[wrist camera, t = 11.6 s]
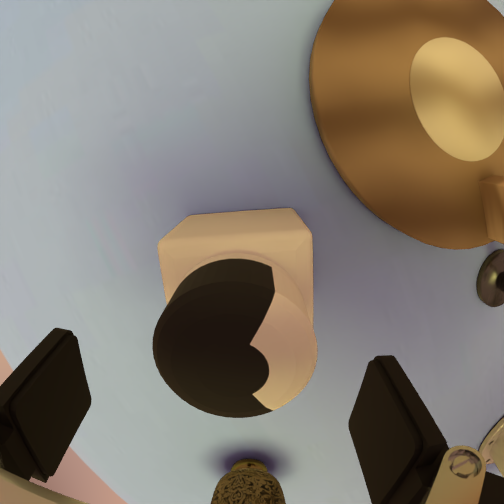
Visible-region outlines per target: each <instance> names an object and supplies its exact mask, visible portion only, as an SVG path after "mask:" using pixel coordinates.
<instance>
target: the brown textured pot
mask: <svg viewBox="0 0 504 504" xmlns="http://www.w3.org/2000/svg"><path fill="white" fill-rule="evenodd" d="M211 504H286V503H285V498H284V494H283V491H282V488H281V486H280V484H279V482H278V481H277V479H276V478H275V477H274V476H273V475H271V474H270V473H268V471H267V468H266V466H265V465H264V464H263V463H262V462H261V461H259V460H255V459H242V460H239V461H237V462H236V463H235V464H234V465H233V466H232V468H231V472H229V473H227V474H226V475H224V476H223V477H222V478H221V479H220V481H219V482H218V484H217V486H216V488H215V491H214V494H213V497H212V501H211Z"/></svg>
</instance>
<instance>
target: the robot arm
mask: <svg viewBox="0 0 504 504" xmlns="http://www.w3.org/2000/svg"><path fill="white" fill-rule="evenodd" d="M90 405H91V395H90V391H89V387H88V383H87V380H86V375H85V371H84V367H83V363H82V358H81V354H80V349H79V344H78V340H77V337H76V336H74V335H73V333H72V331H70V330H65V329H60V328H55V329H53V330H52V331H51V332H50V333H49V334H48V335H47V336H46V337H45V338H44V339H43V340H42V341H41V342H40V344H39V345H38V346H37V347H36V348H35V349H34V350H33V351H32V352H31V353H30V354H29V355H28V356H27V357H26V358H25V359H24V360H23V362H22V363H21V364H20V365H19V366H18V367H17V368H16V369H15V370H14V371H13V373H12V374H11V375H10V376H9V377H8V378H7V379H6V380H5V381H4V383H3V384H2V385H1V386H0V504H88V503H85V502H82V501H79V500H76V499H73V498H70V497H68V496H65V495H62V494H60V493H57V492H54V491H52V490H49V489H47V488H44V487H42V486H39V485H37V484H34V483H32V482H30V481H29V480H30V478H31V476H32V477H33V478H35V479H38V480H40V481H42V482H45V483H46V482H47V480H48V478H49V476H53V475H54V473H55V472H56V470H57V468H58V466H59V464H60V462H61V460H62V458H63V456H64V454H65V452H66V450H67V449H68V447H69V445H70V443H71V441H72V439H73V437H74V435H75V433H76V432H77V430H78V428H79V426H80V424H81V422H82V420H83V419H84V417H85V415H86V413H87V411H88V410H89V408H90ZM349 431H350V434H351V437H352V440H353V443H354V446H355V449H356V453H357V456H358V459H359V462H360V466H361V469H362V472H363V475H364V479H365V482H366V485H367V489H368V492H369V495H370V499H371V502H372V504H504V478H503V477H504V417H503V418H502V419H501V420H500V421H499V422H498V423H497V424H496V426H495V427H494V428H493V429H492V430H491V431H490V433H489V434H488V435H487V437H486V438H485V440H484V441H483V443H482V445H481V447H480V449H479V452H478V451H477V450H476V449H473V448H471V447H469V446H463V445H462V446H455V447H452V448H450V449H449V447H448V446H447V444H446V443H447V442H446V440H445V438H444V437H443V435H442V433H441V431H440V430H439V428H438V426H437V425H436V423H435V421H434V419H433V418H432V416H431V414H430V413H429V411H428V409H427V408H426V406H425V404H424V403H423V401H422V400H421V398H420V396H419V395H418V393H417V391H416V390H415V388H414V387H413V385H412V383H411V382H410V380H409V379H408V377H407V375H406V374H405V372H404V371H403V369H402V368H401V366H400V364H399V363H398V361H397V360H396V358H395V357H394V356H392V355H388V356H376V357H375V358H374V360H371V361H370V362H369V363H368V366H367V369H366V373H365V376H364V379H363V382H362V385H361V388H360V391H359V394H358V397H357V399H356V402H355V405H354V408H353V411H352V413H351V416H350V419H349ZM491 463H495V464H496V466H497V468H498V469H499V471H500V472H501V474H502V476H503V477H501V476H498V475H495V474H492V473H489V472H487V471H486V464H491Z"/></svg>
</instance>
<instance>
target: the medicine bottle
mask: <svg viewBox="0 0 504 504" xmlns="http://www.w3.org/2000/svg"><path fill="white" fill-rule="evenodd" d="M158 255H159V261H160V267H161V273H162V279H163V285H164V291H165V297H166V302H167V306H166V308H165V310H164V311H163V313H162V315H161V317H160V318H159V320H158V322H157V325H156V328H155V331H154V336H153V355H154V360H155V363H156V366H157V368H158V370H159V372H160V375H161V376H162V378H163V379H164V381H165V382H166V384H167V385H168V386H169V387H170V388H171V389H172V390H173V391H174V392H175V393H176V394H177V395H178V396H179V397H180V398H181V399H183V400H184V401H186V402H187V403H188V404H190V405H192V406H194V407H195V408H197V409H199V410H202V411H204V412H207V413H210V414H214V415H218V416H223V417H233V418H244V417H253V416H258V415H262V414H265V413H268V412H271V411H273V410H275V409H277V408H279V407H281V406H283V405H285V404H286V403H287V402H289V401H290V400H292V399H293V398H294V397H295V396H297V395H298V394H299V393H300V392H301V391H302V390H303V388H304V387H305V386H306V385H307V383H308V381H309V380H310V378H311V376H312V374H313V372H314V369H315V365H316V361H317V351H318V350H317V341H316V337H315V334H314V330H313V244H312V234H311V231H310V230H309V229H308V227H307V226H306V225H305V223H304V222H303V221H302V219H301V218H300V217H299V215H298V214H297V213H296V212H295V210H294V209H292V208H279V209H264V210H250V211H236V212H223V213H211V214H199V215H190V216H187V217H186V218H185V219H184V220H183V221H182V222H180V223H179V224H178V225H177V226H176V227H175V228H174V229H172V230H171V231H170V232H169V233H168V234H167V235H166V236H164V237H163V238H162V239H161V240H160V241H159V243H158Z"/></svg>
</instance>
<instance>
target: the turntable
mask: <svg viewBox="0 0 504 504" xmlns="http://www.w3.org/2000/svg"><path fill="white" fill-rule="evenodd" d="M309 84H310V97H311V103H312V108H313V113H314V118H315V121H316V124H317V127H318V130H319V133H320V137H321V140H322V142H323V144H324V146H325V148H326V150H327V153H328V155H329V157H330V159H331V161H332V162H333V164H334V166H335V168H336V169H337V171H338V173H339V174H340V176H341V178H342V179H343V180H344V181H345V183H346V184H347V185H348V187H349V188H350V189H351V191H352V192H353V193H354V194H355V196H356V197H357V198H358V199H359V200H360V201H361V202H362V203H363V204H364V205H365V206H366V207H367V208H368V209H369V210H370V211H372V212H373V213H374V214H375V215H377V216H378V217H379V218H380V219H381V220H383V221H385V222H386V223H388V224H389V225H391V226H393V227H394V228H396V229H397V230H399V231H401V232H403V233H405V234H406V235H408V236H410V237H412V238H415V239H417V240H419V241H421V242H423V243H425V244H429V245H433V246H436V247H440V248H447V249H470V248H475V247H479V246H483V245H486V244H488V243H490V242H493V241H498V242H500V243H502V244H504V17H503V16H502V14H501V13H500V12H499V11H498V10H497V9H496V8H495V7H493V6H492V5H491V4H490V3H489V2H488V1H487V0H334V2H333V3H332V5H331V7H330V8H329V10H328V12H327V13H326V15H325V17H324V19H323V21H322V23H321V25H320V27H319V30H318V32H317V35H316V38H315V40H314V43H313V48H312V53H311V58H310V71H309Z"/></svg>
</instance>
